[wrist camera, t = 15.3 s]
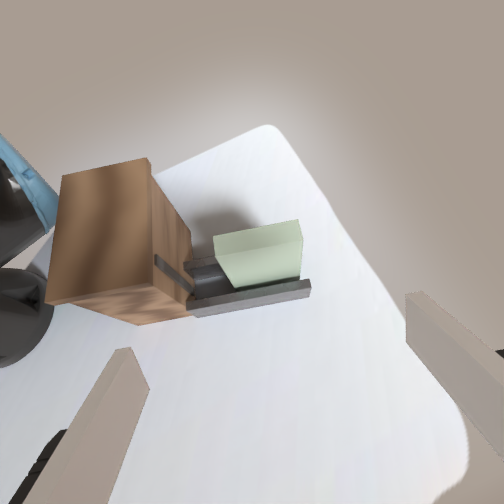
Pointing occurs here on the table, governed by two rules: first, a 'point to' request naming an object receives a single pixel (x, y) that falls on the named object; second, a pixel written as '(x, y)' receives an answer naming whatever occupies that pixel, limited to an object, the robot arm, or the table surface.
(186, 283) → the walnut cabinet
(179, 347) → the table surface
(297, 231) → the cabinet door
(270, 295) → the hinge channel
